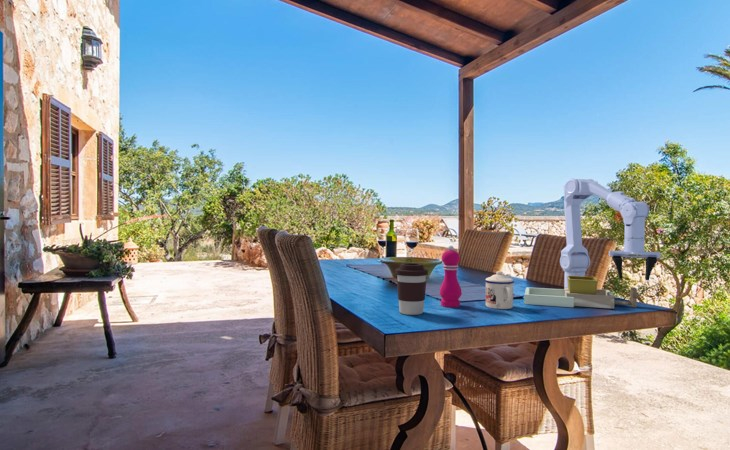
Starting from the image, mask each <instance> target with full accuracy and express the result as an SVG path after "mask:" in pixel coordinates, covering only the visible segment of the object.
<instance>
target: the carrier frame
mask: <svg viewBox="0 0 730 450" xmlns="http://www.w3.org/2000/svg"><path fill="white" fill-rule="evenodd" d="M629 290H630V294H629V295H630V296H629V297H630V298H629V301H619V300H615V295H614V294H613V293H612V292H611V291H610V290H609V289H602V288H601V289H600V288H597V290H596V295H593V294H576V293H570V292H569V290H568V288H567V287H565V297H574V307H584V308H596V309H597V308H600V309H615V305H622V306H630V307H632V308H637V306H638V305H637V303H638V300H637V299H638V298H637V297H638V292H637V291H638V288H636V287H633V286H630V288H629Z"/></svg>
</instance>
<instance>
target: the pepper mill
mask: <svg viewBox="0 0 730 450" xmlns="http://www.w3.org/2000/svg"><path fill="white" fill-rule="evenodd" d="M447 249H448V250H445V251H444V252H443V253H442V255H441V262H442V263H443V265H442V269H443V271H444V278H443V281H442V283H441V286H440V289H439V295H440V297H441V298H442V299H441V300H440V306H442V307H445V308H459V307H461V300H460V299H459V298H461V296H462V287H461V285H460V283H459V281H458V273H457V272H458V270H459V265H458V264H459V262H460V260H461V256H460V254H459V252H458V251H456V250H454V246H453V245H449V246H448V247H447Z"/></svg>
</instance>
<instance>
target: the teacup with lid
mask: <svg viewBox="0 0 730 450" xmlns="http://www.w3.org/2000/svg"><path fill="white" fill-rule="evenodd" d="M503 273H504V272H503V271H501V270H498V271H496V274H492V275H491V276H489V277H486V278H485V280H484V282H485V306H486V307H487V308H489V309H495V310H508V309H509V310H510V309H512V308H513V307H514V283H515V281H514V279H513V278H510V277H508V276H507V275H505V274H503Z"/></svg>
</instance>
